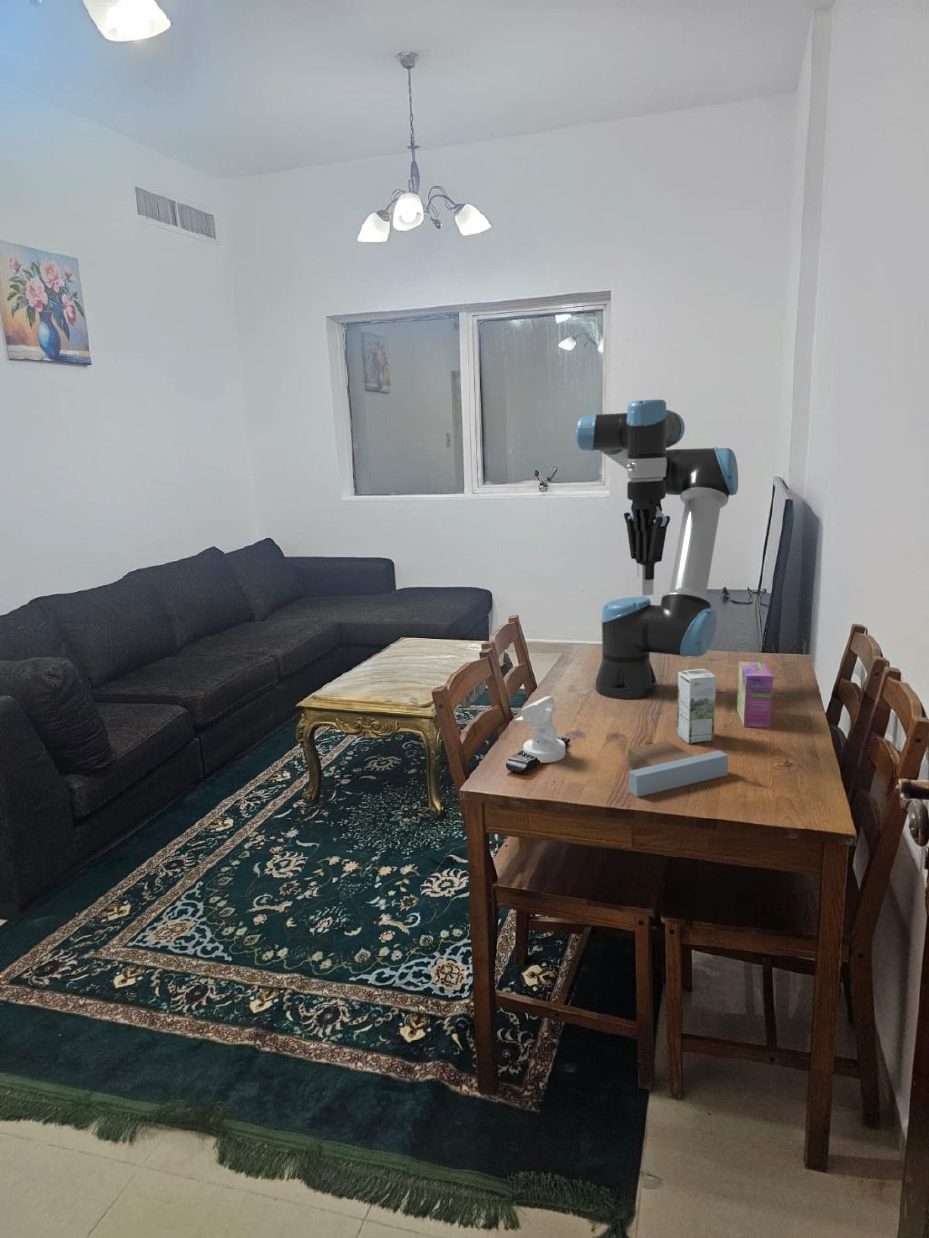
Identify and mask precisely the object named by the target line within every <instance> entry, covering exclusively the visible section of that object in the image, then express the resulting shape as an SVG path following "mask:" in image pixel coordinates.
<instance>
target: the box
mask: <svg viewBox="0 0 929 1238" xmlns="http://www.w3.org/2000/svg"><path fill="white" fill-rule="evenodd" d="M737 678H738V679H737V680H738V682H737V702H736V711H737V714H738V715H739V718H740V721H741V723H742V726H743V727H744V728H760V729H761V728H762V729H763V728H764V729H767V728H771V718H772V704H773V701H772V700H773V689H774V675H773V674H772V672H771V671H770V669H769V667H768V665H767V663H766V662H764V661H739V662H738V677H737Z"/></svg>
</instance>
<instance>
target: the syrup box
mask: <svg viewBox="0 0 929 1238" xmlns="http://www.w3.org/2000/svg"><path fill="white" fill-rule="evenodd" d="M677 674H678V677H677V678H678V679H677V711H676V712H677V714H676V715H677V716H676V717H677V718H676V719H677V721H676V735H677V736H679V737H680V738H681V739H682V740H683V741H685V742H686V743H687V744H689V745H690V744H698V743H705V742H706V743H708V742H713V741H714V736H715V715H716V711H715V710H716V692H717V691H716V690H717V689H716V688H717V687H716V686H717V677H716V676H715V675H714V674H713V673H712V672H710V671H709V670H707V669H705V668H697V669H687V670H678V673H677Z"/></svg>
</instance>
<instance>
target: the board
mask: <svg viewBox="0 0 929 1238" xmlns="http://www.w3.org/2000/svg"><path fill="white" fill-rule="evenodd" d="M692 756H693V757H688V758H684V759H680V760H675V761H671V762H666V763H662V764H658V765H653V766H649V767H645V768H640V769H636V770H632V769H631V770H629V771H628V792H629V793H630V794H632V795H633V796H635V797H636V798H639V797H643V796H647V795H650V794H651V795H652V794H654V793H659V792H664V791H668V790H671V789H676V788H680V787H684V786H688V785H692V784H696V783H700V782H704V781H707V780H712V779H716V778H720V777H725V776H728V775H729V774H728V770H729V769H728V768H729V767H728V766H729V754H727V753H726V752H723V751H721V750H715V751H711V752H706V753H703V754H698V755H697V754H696V755H692Z"/></svg>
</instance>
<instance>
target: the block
mask: <svg viewBox="0 0 929 1238" xmlns="http://www.w3.org/2000/svg"><path fill="white" fill-rule="evenodd" d="M693 756H694V755H692V754H690V753H689V752H687V751H686V750H684V749H682V748H680V747H679V746H677V745H675V744H674V743H672V742H671V741H669V740H666V741H665V740H664V741H661V742H656V743H651V744H646V745H641V746H637V747H636V746H635V747H631V748H627V767H628V768H630V769H631V771H632V770H636V769H640V768H645V767H649V766H653V765H658V764H662V763H666V762H671V761H675V760H680V759H684V758H688V757H693Z"/></svg>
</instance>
